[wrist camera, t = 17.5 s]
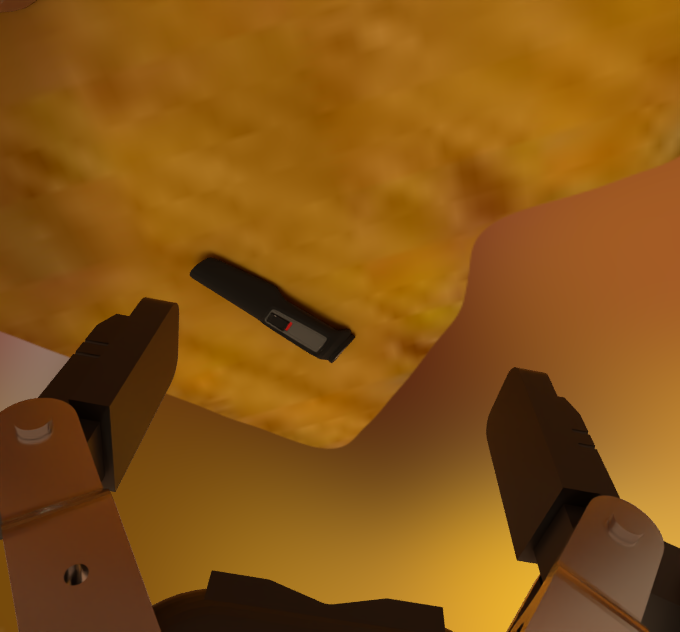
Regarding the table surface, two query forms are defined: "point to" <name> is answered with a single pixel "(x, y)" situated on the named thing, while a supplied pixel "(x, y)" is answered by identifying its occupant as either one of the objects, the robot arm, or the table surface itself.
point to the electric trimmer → (272, 309)
